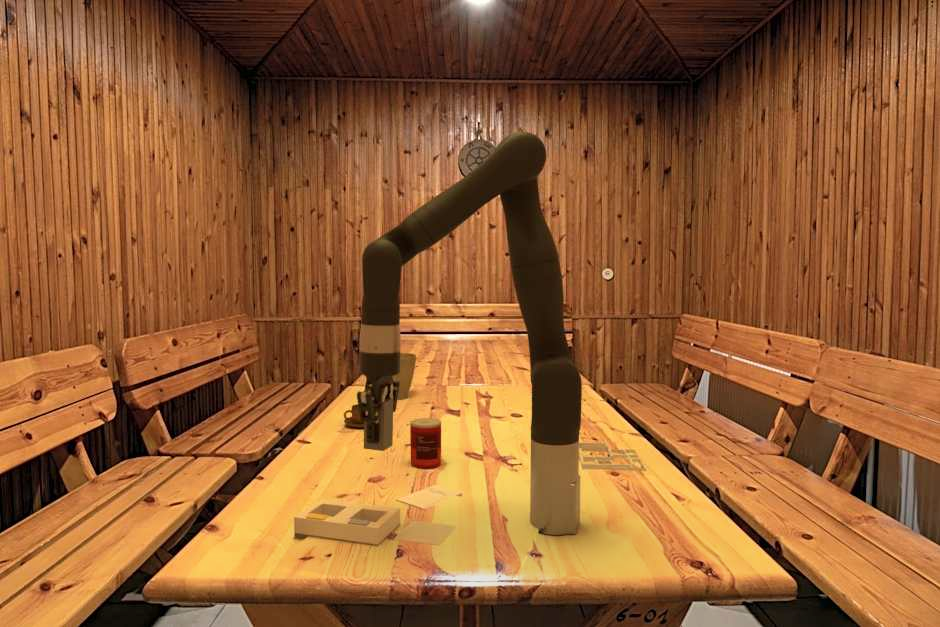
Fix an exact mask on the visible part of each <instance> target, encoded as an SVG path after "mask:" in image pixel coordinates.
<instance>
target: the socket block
mask: <svg viewBox="0 0 940 627" xmlns="http://www.w3.org/2000/svg"><path fill="white" fill-rule="evenodd" d="M400 525H401V508H400V507H391V506H386V505H385V506H384V505H377V504H376V505H375V504H369V503H359V502H351V501H343V500H336V499H328V498H321V499H319V500H317V501H315V502H314V503H313V504H312V505H310V506H308V507H307V508H305V509H304V510H302V511H301V512H299V513H298V514H297V515H296V516H294V517H293V526H294V527H293V528H294V529H293V531H294V539H300V540H306V539H307V538H308V537H313V538H318V539H326V540H331V541H332V540H334V541H340V542H341V541H342V542H348V543H355V544H361V545H367V546H376V547H379V546H380V545H381V543H383V542H384V541H385V540H386V539H387V538H388V537H389V536H391V534H392V533H393V532H394V531H395V530H397V529H398V528H399V526H400Z"/></svg>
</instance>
